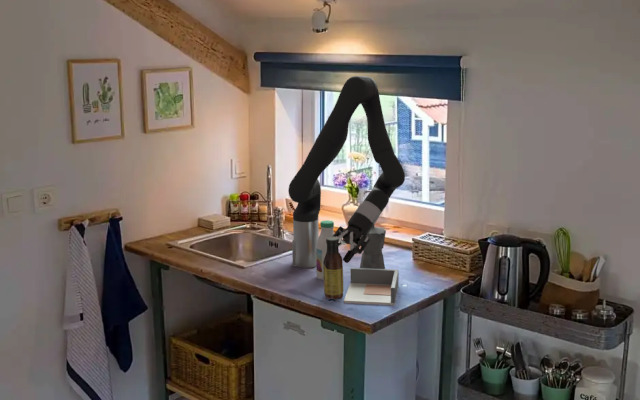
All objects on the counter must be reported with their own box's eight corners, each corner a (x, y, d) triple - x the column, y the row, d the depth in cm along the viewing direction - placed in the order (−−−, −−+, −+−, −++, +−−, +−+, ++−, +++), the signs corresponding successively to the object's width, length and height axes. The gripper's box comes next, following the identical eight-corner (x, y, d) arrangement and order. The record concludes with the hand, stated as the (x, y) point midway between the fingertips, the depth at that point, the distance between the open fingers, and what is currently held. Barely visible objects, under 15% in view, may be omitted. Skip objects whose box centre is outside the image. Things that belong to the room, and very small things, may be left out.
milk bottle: (340, 274, 258) (340, 219, 254) (336, 281, 251) (335, 225, 246) (319, 272, 260) (318, 218, 255) (314, 280, 253) (313, 224, 248)
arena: (343, 303, 231) (343, 285, 230) (351, 283, 248) (351, 267, 247) (394, 305, 228) (394, 287, 227) (398, 286, 245) (398, 269, 244)
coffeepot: (394, 272, 259) (394, 223, 255) (373, 278, 254) (373, 227, 250) (368, 262, 271) (368, 215, 267) (347, 266, 266) (347, 218, 262)
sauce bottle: (331, 292, 241) (330, 233, 236) (347, 295, 237) (346, 236, 233) (319, 298, 235) (319, 238, 231) (336, 301, 232) (335, 241, 227)
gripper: (344, 207, 242) (317, 246, 238) (372, 215, 230) (343, 257, 226) (357, 220, 246) (330, 259, 242) (385, 229, 234) (357, 270, 231)
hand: (336, 258), depth 234 cm, fingers open, 8 cm apart
